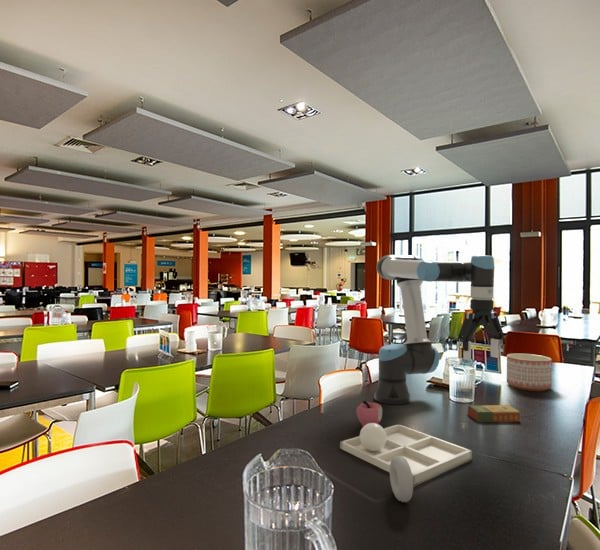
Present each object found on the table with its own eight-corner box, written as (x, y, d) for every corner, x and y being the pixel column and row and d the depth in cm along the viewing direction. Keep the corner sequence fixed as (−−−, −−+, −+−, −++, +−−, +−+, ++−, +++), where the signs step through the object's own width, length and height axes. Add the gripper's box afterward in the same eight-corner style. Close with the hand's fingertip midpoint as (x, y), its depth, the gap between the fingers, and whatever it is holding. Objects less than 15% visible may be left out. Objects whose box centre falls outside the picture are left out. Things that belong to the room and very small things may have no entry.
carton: (520, 422, 154) (520, 411, 154) (477, 423, 154) (477, 411, 154) (508, 415, 162) (508, 404, 162) (467, 415, 162) (467, 404, 162)
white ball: (354, 449, 126) (354, 422, 126) (372, 443, 131) (372, 417, 131) (373, 458, 120) (373, 430, 120) (392, 451, 125) (392, 424, 125)
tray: (339, 450, 127) (340, 441, 127) (398, 431, 143) (398, 424, 143) (412, 486, 105) (412, 476, 105) (471, 459, 121) (471, 450, 121)
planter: (551, 385, 208) (552, 356, 208) (550, 394, 191) (550, 362, 191) (508, 380, 218) (509, 352, 218) (504, 388, 202) (504, 357, 202)
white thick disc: (387, 489, 103) (387, 448, 104) (401, 488, 104) (401, 448, 104) (400, 511, 94) (400, 466, 94) (415, 511, 94) (415, 466, 94)
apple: (375, 435, 139) (376, 405, 139) (351, 430, 143) (352, 401, 143) (386, 427, 147) (386, 398, 147) (363, 422, 151) (363, 394, 151)
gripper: (464, 300, 140) (463, 363, 140) (515, 299, 151) (514, 357, 151) (447, 298, 147) (446, 359, 147) (497, 297, 157) (496, 354, 157)
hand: (481, 358), depth 149 cm, fingers open, 13 cm apart
